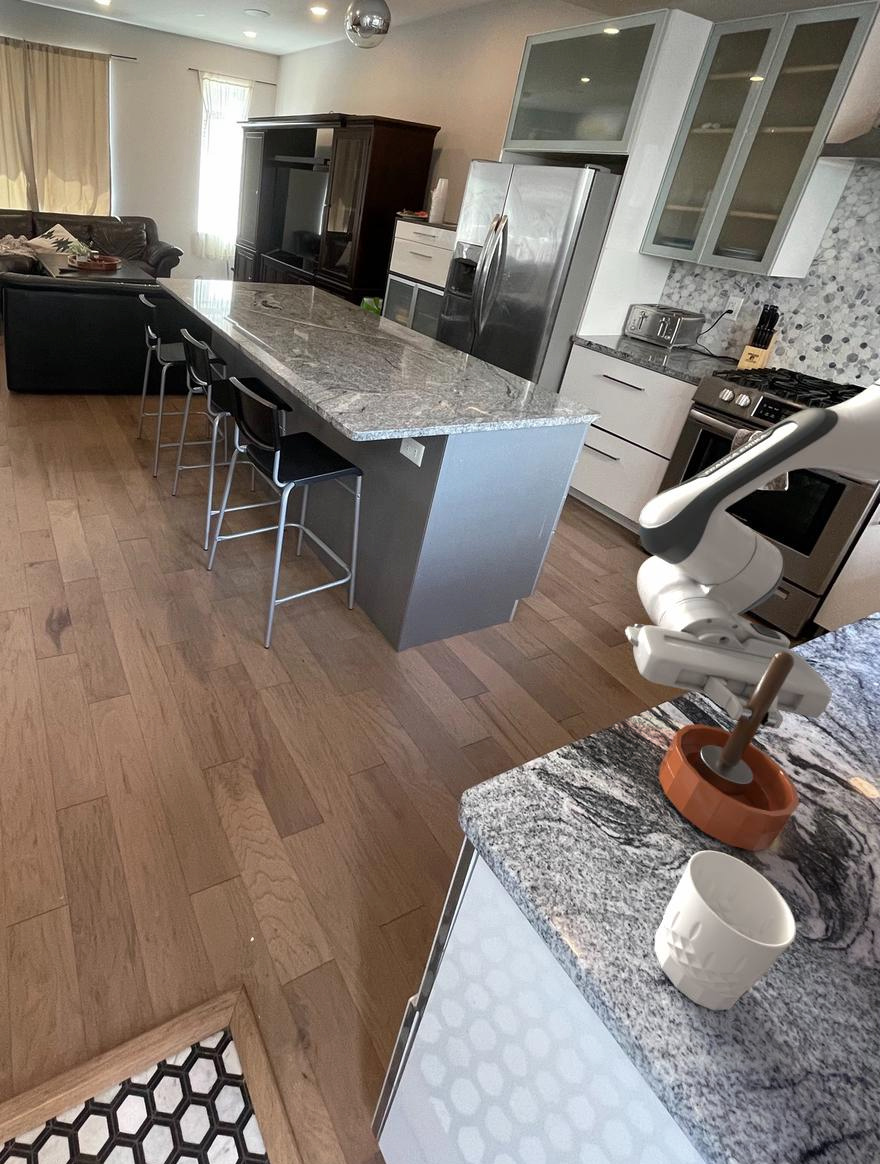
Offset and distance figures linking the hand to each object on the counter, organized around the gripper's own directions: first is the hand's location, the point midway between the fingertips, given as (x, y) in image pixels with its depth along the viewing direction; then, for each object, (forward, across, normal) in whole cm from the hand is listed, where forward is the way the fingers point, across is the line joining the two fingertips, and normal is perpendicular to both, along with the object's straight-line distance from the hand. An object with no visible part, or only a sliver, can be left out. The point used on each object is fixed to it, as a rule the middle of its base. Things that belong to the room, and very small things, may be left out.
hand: (758, 719), depth 68 cm
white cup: (+19, -9, +14) cm, 25 cm away
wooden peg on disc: (-1, 0, +10) cm, 10 cm away
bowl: (-1, +1, +14) cm, 14 cm away
